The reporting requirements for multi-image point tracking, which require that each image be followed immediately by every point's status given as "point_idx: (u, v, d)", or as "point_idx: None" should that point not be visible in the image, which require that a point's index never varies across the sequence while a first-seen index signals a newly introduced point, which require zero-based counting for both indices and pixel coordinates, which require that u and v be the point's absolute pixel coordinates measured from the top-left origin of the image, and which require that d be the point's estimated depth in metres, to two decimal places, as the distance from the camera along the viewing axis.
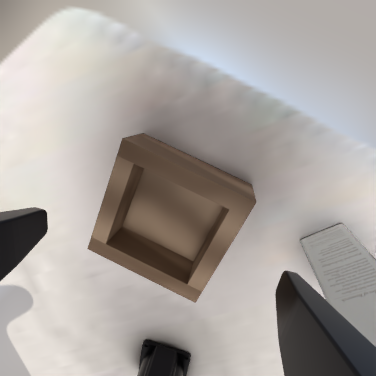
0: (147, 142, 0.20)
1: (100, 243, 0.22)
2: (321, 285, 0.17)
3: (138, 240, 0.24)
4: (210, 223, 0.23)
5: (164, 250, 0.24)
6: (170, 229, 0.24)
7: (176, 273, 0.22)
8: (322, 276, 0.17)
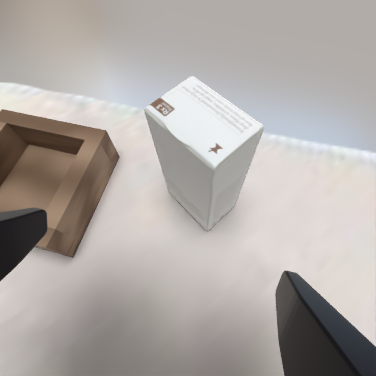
0: None
1: None
2: (159, 157, 0.18)
3: None
4: None
5: None
6: (38, 204, 0.23)
7: None
8: None
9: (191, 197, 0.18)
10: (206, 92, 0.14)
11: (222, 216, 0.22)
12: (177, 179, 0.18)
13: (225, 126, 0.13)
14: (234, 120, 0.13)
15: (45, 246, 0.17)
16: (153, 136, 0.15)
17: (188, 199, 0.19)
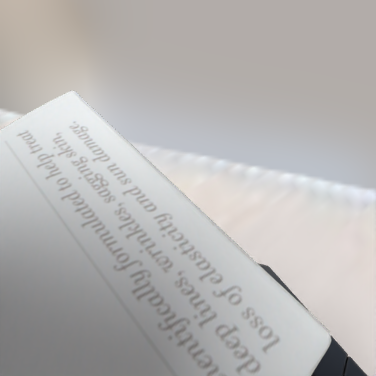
0: None
1: None
2: None
3: None
4: None
5: None
6: None
7: None
8: None
9: None
10: (98, 156, 0.04)
11: None
12: None
13: (144, 355, 0.03)
14: (193, 310, 0.03)
15: None
16: None
17: None
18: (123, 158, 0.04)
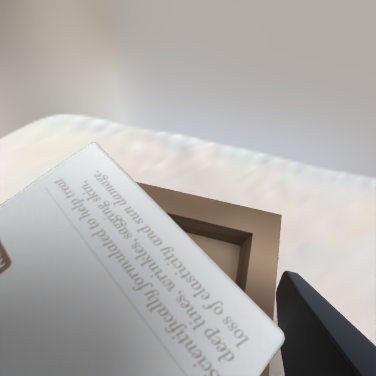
0: None
1: None
2: None
3: None
4: None
5: None
6: None
7: None
8: None
9: None
10: (118, 201, 0.05)
11: None
12: None
13: (156, 350, 0.04)
14: (189, 318, 0.04)
15: None
16: None
17: None
18: (136, 202, 0.05)
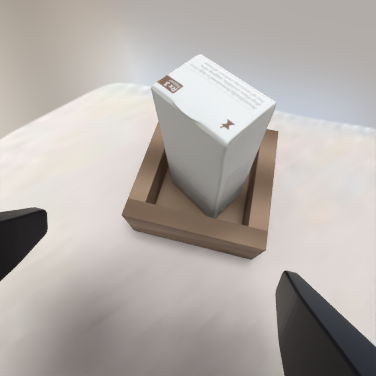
0: None
1: (139, 203, 0.19)
2: (164, 142, 0.18)
3: None
4: (243, 189, 0.23)
5: None
6: None
7: None
8: None
9: (197, 183, 0.18)
10: (215, 70, 0.13)
11: (228, 205, 0.22)
12: (183, 164, 0.17)
13: (236, 102, 0.12)
14: (245, 96, 0.12)
15: (265, 248, 0.17)
16: (159, 117, 0.15)
17: (194, 186, 0.19)
18: (222, 70, 0.13)
